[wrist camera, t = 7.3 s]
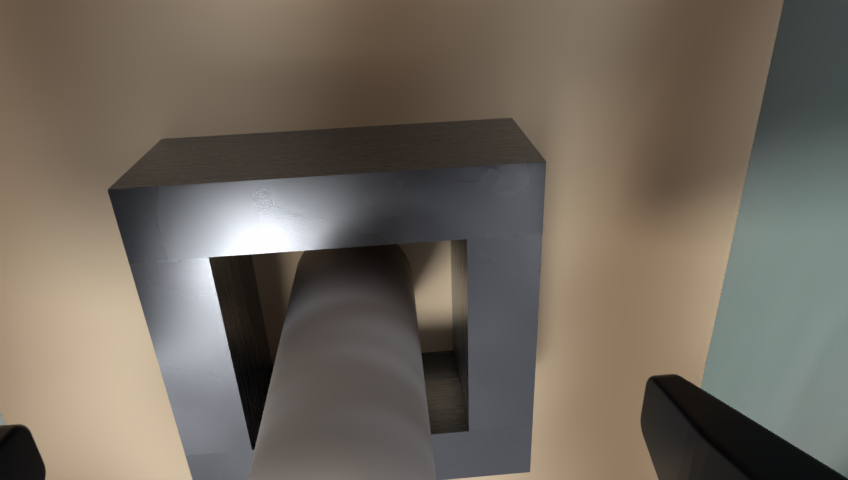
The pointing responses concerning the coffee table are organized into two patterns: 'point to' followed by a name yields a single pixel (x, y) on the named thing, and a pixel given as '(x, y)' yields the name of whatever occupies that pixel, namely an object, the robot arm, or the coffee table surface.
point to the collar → (327, 229)
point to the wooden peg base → (383, 264)
